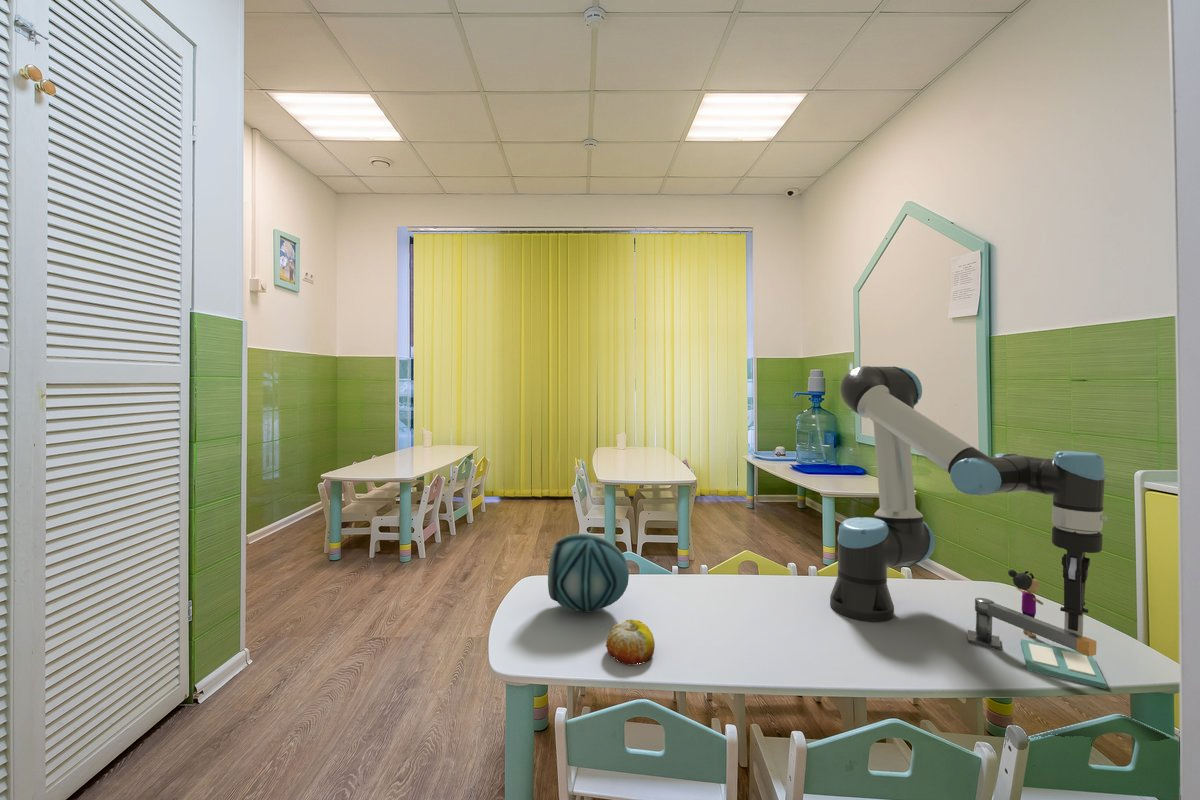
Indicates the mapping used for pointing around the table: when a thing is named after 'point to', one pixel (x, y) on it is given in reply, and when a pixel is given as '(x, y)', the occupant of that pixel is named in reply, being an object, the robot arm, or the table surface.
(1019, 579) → the toy
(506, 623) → the table surface
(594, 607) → the toy
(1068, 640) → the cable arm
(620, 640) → the fruit
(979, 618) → the post
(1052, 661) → the mat
